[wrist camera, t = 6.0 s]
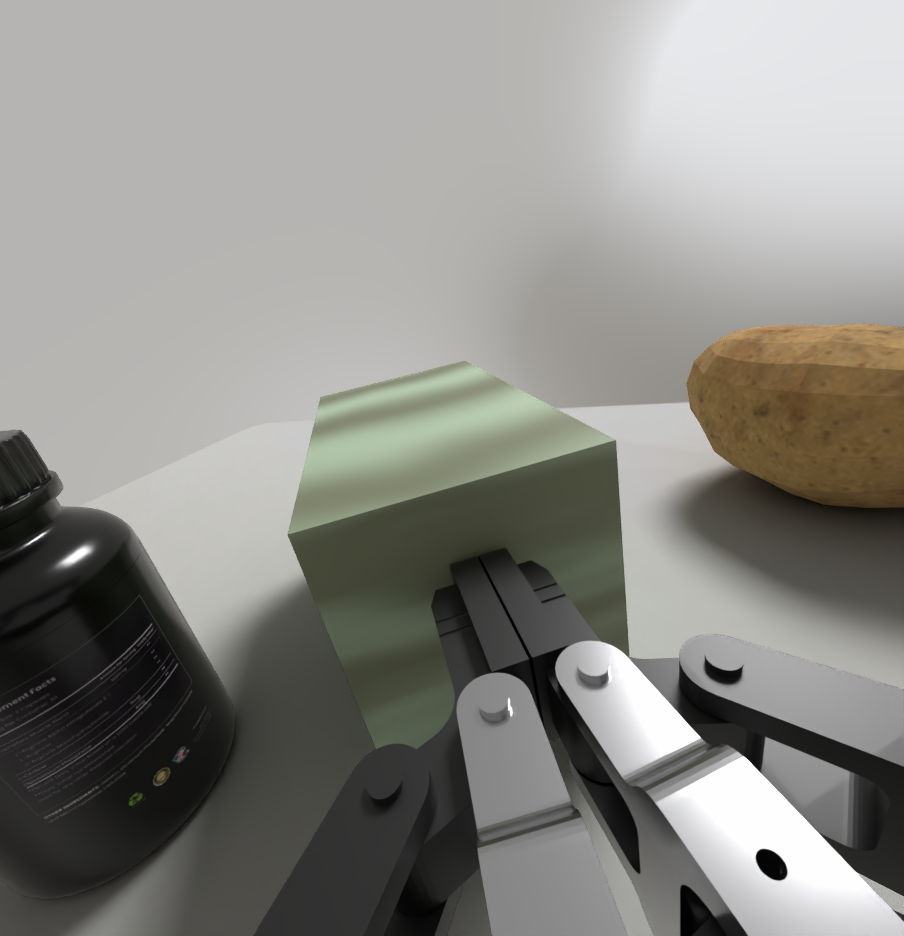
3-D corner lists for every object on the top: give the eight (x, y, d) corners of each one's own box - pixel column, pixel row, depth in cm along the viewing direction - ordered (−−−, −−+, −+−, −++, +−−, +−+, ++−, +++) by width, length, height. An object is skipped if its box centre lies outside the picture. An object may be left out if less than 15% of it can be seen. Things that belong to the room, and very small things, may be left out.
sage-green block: (631, 696, 14) (615, 440, 11) (391, 786, 13) (287, 534, 10) (491, 502, 28) (464, 360, 25) (367, 539, 27) (320, 397, 24)
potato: (1026, 616, 14) (1124, 367, 11) (648, 486, 26) (644, 348, 23) (1115, 498, 18) (1207, 286, 15) (749, 431, 30) (757, 306, 26)
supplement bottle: (-24, 846, 14) (-371, 530, 10) (175, 675, 20) (15, 417, 15) (71, 971, 11) (-396, 575, 6) (282, 723, 16) (118, 408, 11)
